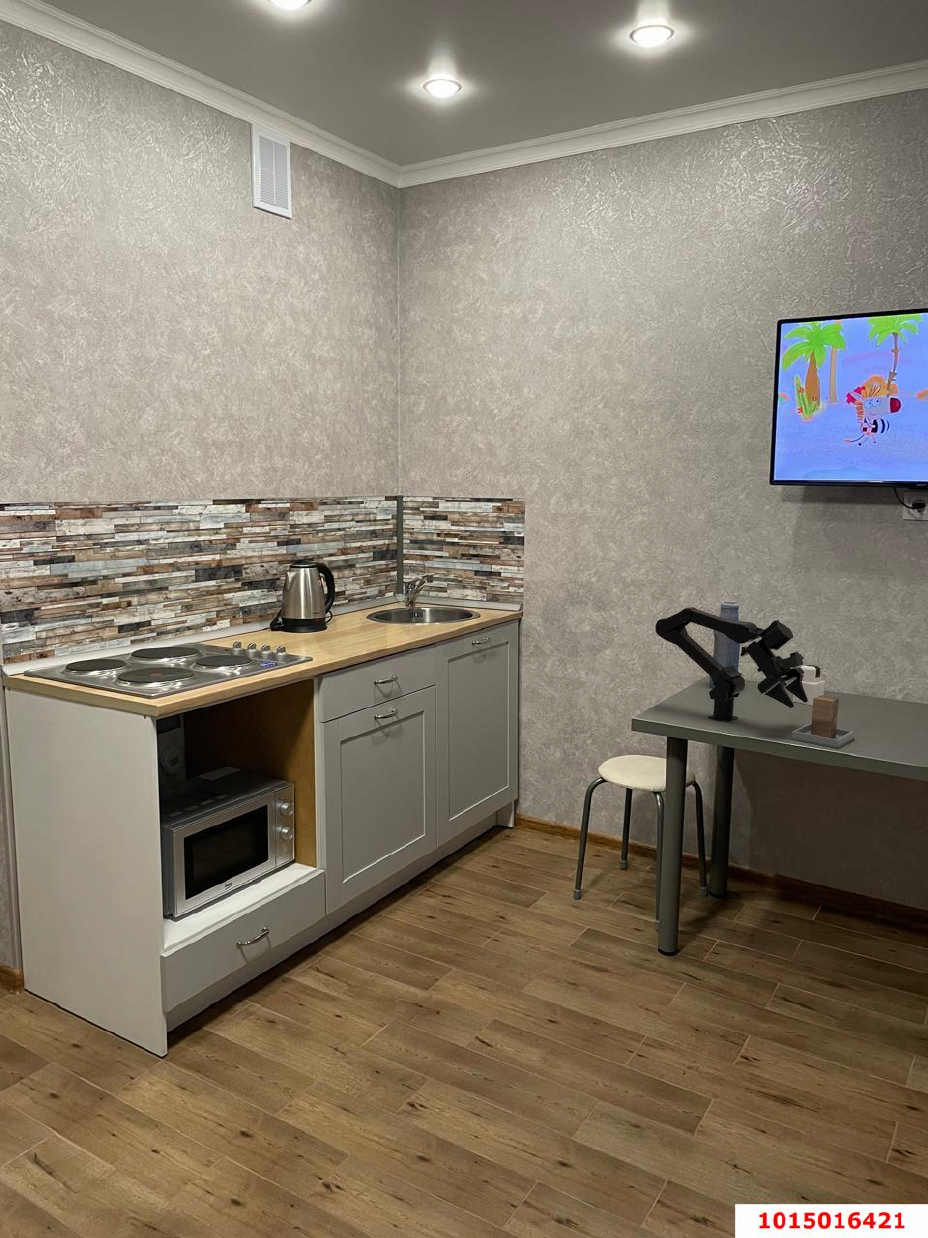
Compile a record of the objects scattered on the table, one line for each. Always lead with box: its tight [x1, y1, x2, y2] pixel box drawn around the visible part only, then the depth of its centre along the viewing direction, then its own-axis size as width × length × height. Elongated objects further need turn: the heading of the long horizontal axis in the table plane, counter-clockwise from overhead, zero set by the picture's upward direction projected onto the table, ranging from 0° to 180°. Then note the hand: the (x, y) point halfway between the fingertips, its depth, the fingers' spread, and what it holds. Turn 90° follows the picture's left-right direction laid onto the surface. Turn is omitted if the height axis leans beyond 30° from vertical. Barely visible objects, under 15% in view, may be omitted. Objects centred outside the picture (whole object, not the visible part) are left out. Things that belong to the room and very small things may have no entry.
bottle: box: [708, 599, 741, 689], centre depth 316 cm, size 10×10×30 cm
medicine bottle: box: [792, 664, 826, 707], centre depth 298 cm, size 7×7×12 cm
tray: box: [791, 722, 856, 750], centre depth 255 cm, size 13×13×2 cm
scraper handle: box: [811, 695, 840, 739], centre depth 254 cm, size 5×5×11 cm
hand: (799, 704), depth 259 cm, fingers open, 9 cm apart
